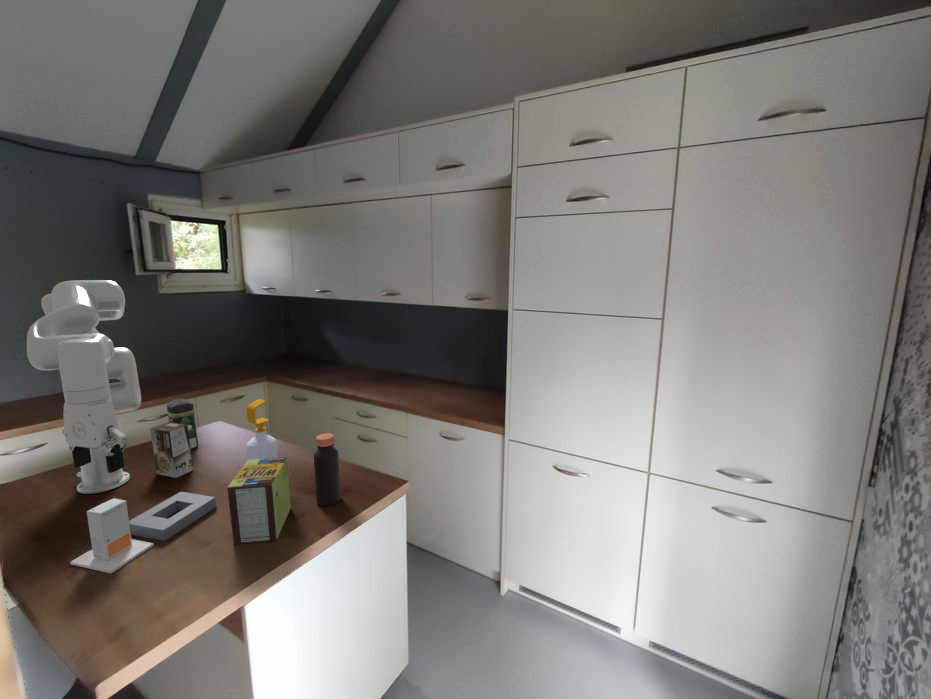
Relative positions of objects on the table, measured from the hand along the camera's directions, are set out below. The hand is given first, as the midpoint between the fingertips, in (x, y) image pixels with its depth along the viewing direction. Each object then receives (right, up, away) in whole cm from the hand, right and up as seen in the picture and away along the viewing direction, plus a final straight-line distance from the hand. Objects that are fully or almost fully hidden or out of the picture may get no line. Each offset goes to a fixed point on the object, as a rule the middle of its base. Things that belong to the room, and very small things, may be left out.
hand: (99, 467), depth 95 cm
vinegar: (+43, -18, +28) cm, 54 cm away
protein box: (+30, -20, +16) cm, 39 cm away
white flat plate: (0, -22, +4) cm, 22 cm away
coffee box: (-14, -14, +45) cm, 49 cm away
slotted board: (+4, -19, +18) cm, 27 cm away
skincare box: (0, -21, +4) cm, 22 cm away
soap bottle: (+15, -14, +46) cm, 50 cm away
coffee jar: (-23, -11, +64) cm, 69 cm away
